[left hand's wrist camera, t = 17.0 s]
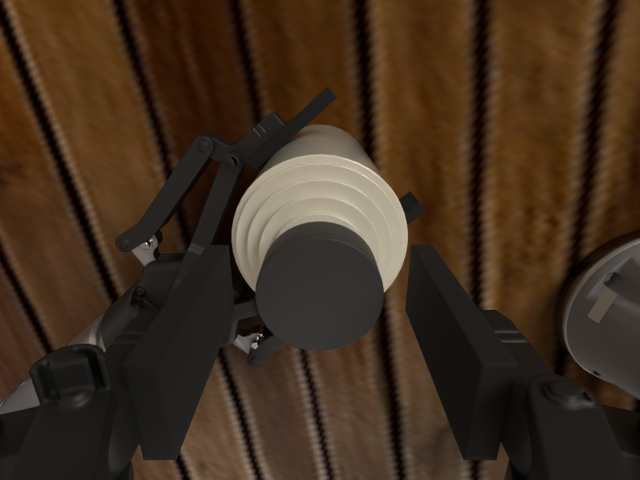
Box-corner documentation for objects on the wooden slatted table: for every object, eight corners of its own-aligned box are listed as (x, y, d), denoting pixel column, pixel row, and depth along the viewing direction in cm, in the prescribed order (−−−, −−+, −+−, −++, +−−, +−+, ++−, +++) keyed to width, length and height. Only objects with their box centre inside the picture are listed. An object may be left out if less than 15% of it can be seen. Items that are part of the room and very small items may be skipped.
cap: (401, 272, 15) (411, 295, 13) (322, 342, 16) (322, 371, 14) (316, 196, 14) (315, 211, 12) (238, 278, 15) (228, 301, 13)
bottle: (292, 236, 33) (261, 405, 15) (253, 147, 30) (160, 228, 13) (382, 204, 32) (459, 346, 14) (350, 108, 29) (397, 138, 12)
